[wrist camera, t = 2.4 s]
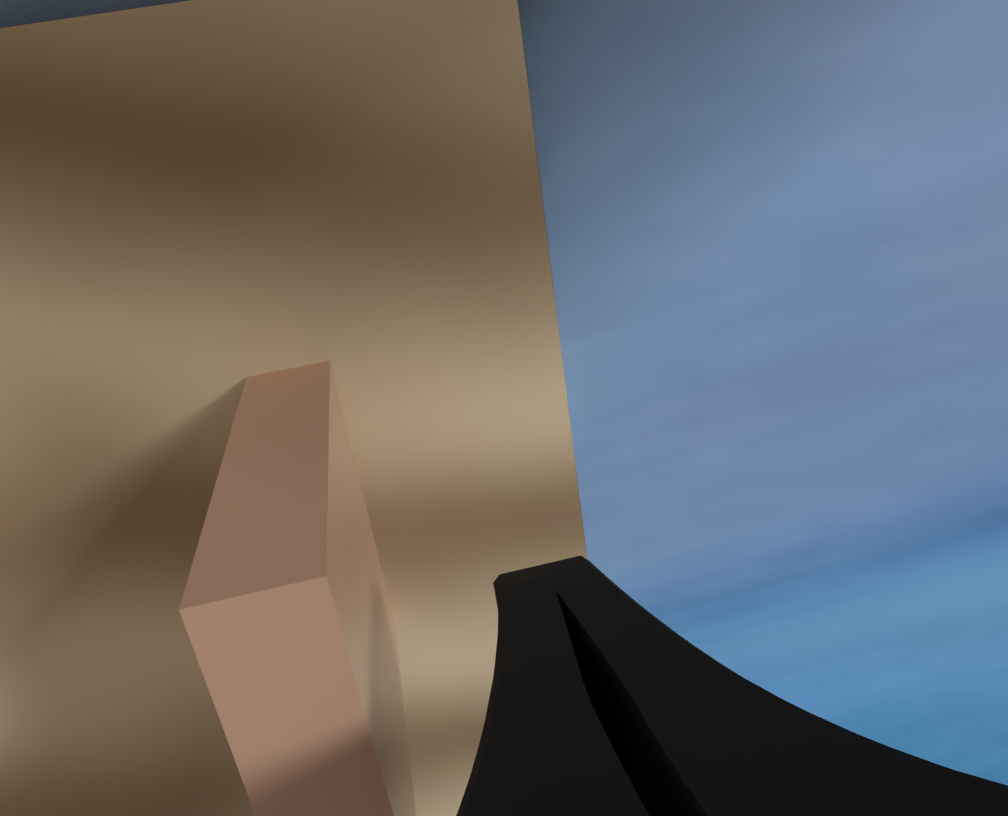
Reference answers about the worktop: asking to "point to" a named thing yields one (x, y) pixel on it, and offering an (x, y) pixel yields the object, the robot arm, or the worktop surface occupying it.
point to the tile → (299, 611)
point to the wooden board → (262, 359)
